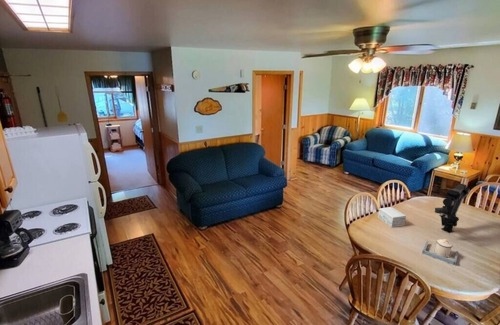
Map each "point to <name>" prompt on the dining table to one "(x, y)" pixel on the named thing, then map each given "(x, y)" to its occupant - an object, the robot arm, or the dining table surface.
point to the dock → (439, 256)
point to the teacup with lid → (443, 247)
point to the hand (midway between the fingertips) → (442, 225)
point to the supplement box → (391, 216)
